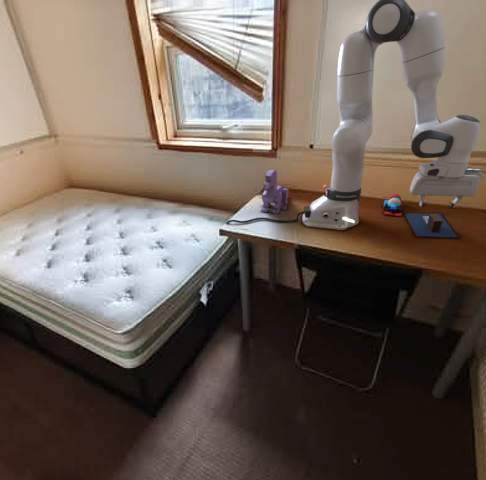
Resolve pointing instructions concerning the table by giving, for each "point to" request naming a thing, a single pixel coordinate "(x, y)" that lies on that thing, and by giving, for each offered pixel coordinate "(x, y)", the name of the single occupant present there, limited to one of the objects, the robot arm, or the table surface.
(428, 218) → the letter opener
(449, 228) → the desk mat
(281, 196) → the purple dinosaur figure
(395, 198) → the toy figure
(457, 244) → the table surface
